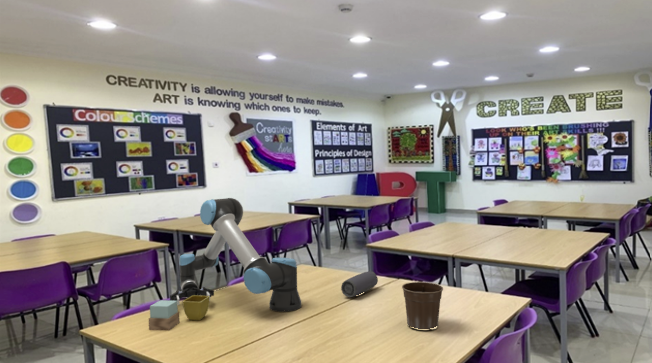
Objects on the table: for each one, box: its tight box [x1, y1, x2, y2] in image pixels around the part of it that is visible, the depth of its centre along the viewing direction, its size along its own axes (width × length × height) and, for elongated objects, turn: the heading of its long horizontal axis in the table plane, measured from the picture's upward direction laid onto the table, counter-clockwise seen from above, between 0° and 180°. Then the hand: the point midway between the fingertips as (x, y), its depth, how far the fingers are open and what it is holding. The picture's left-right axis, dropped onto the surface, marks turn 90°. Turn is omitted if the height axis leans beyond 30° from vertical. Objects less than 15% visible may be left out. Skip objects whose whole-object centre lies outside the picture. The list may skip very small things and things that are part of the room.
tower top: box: [149, 299, 179, 318], centre depth 188 cm, size 8×8×5 cm
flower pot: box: [182, 296, 211, 321], centre depth 197 cm, size 9×9×9 cm
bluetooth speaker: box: [340, 270, 379, 298], centre depth 228 cm, size 23×9×10 cm, turn 144°
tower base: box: [148, 311, 181, 331], centre depth 188 cm, size 9×9×5 cm
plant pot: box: [401, 281, 444, 329], centre depth 180 cm, size 16×16×16 cm
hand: (194, 300), depth 205 cm, fingers open, 13 cm apart
